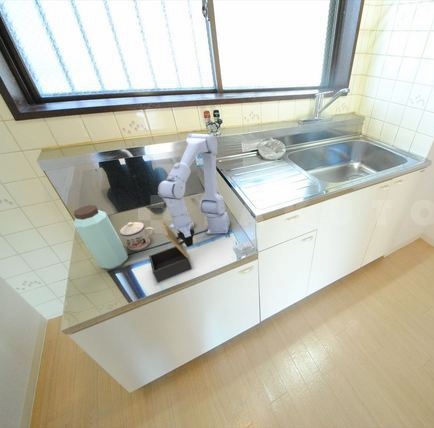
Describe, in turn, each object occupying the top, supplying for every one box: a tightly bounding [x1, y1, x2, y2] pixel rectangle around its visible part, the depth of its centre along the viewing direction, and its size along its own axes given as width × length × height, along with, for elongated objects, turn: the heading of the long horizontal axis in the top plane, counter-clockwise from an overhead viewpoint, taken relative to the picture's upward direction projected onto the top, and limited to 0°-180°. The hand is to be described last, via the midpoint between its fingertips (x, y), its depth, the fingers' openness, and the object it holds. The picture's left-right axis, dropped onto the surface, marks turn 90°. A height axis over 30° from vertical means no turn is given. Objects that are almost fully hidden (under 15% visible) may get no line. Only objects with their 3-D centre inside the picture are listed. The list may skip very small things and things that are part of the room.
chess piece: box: [187, 209, 195, 230], centre depth 111 cm, size 4×4×10 cm
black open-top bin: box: [148, 245, 193, 284], centre depth 90 cm, size 12×10×6 cm
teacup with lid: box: [119, 221, 156, 251], centre depth 100 cm, size 12×9×12 cm
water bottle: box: [73, 204, 129, 270], centre depth 87 cm, size 10×10×25 cm
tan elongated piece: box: [160, 220, 190, 259], centre depth 87 cm, size 13×10×5 cm
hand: (188, 241), depth 90 cm, fingers closed on tan elongated piece, 5 cm apart
